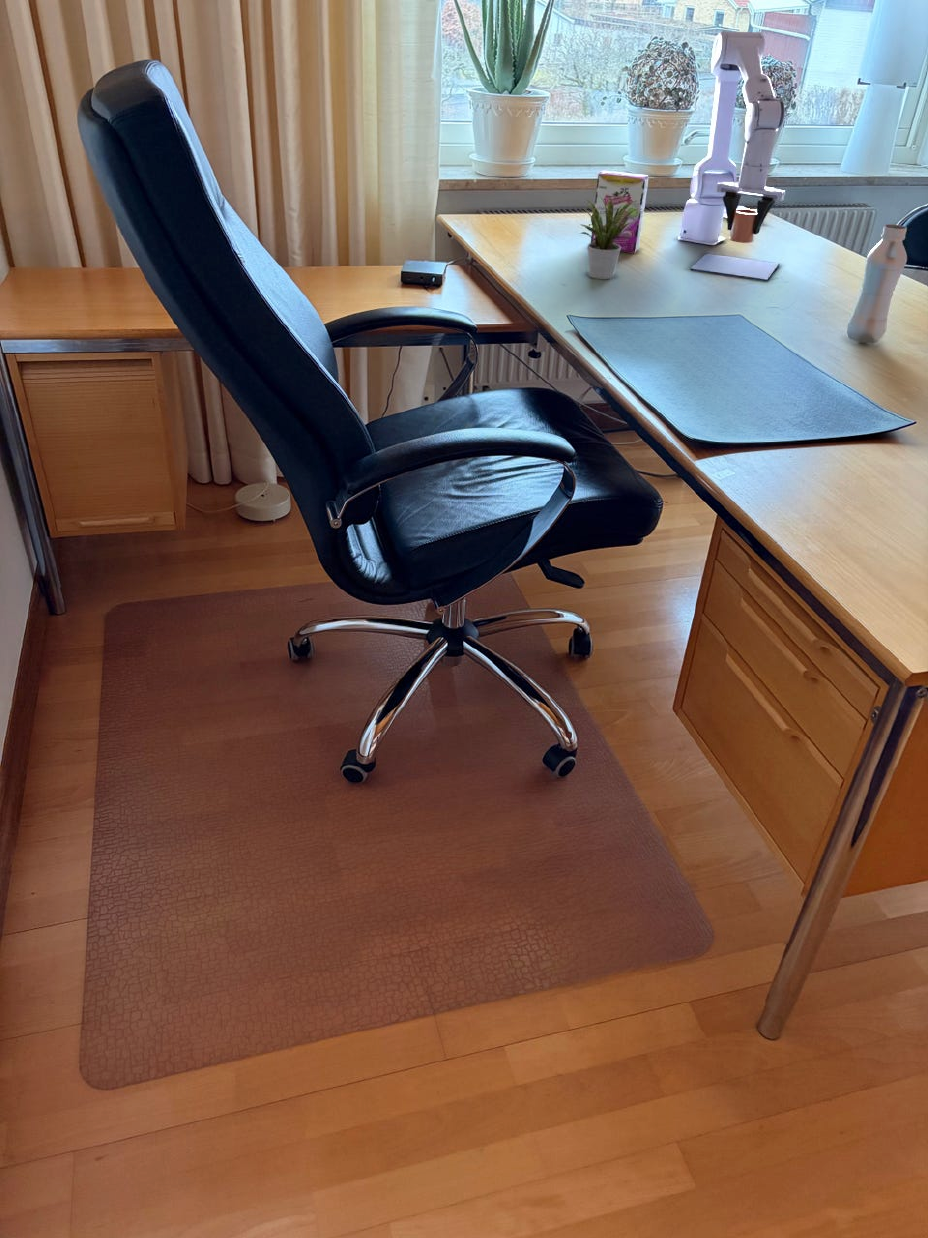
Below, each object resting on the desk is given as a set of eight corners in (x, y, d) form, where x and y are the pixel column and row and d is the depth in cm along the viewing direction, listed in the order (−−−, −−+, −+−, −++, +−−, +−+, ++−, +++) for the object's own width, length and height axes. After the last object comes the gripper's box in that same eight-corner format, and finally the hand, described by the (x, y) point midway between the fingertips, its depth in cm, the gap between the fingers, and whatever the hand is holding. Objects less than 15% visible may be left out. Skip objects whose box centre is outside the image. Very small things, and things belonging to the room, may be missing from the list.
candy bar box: (589, 248, 219) (596, 173, 209) (593, 243, 222) (601, 169, 213) (635, 253, 216) (645, 177, 206) (639, 248, 220) (649, 174, 210)
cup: (725, 240, 204) (731, 211, 201) (734, 235, 208) (739, 207, 204) (748, 243, 202) (754, 214, 199) (756, 239, 206) (762, 210, 202)
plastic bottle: (837, 335, 171) (868, 221, 160) (872, 335, 172) (905, 222, 160) (852, 347, 166) (885, 230, 154) (888, 347, 167) (923, 231, 155)
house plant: (647, 272, 203) (658, 193, 193) (629, 288, 193) (640, 205, 183) (586, 263, 208) (594, 185, 198) (565, 278, 197) (573, 197, 188)
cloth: (690, 269, 206) (690, 268, 206) (706, 254, 217) (706, 253, 217) (766, 280, 200) (766, 279, 200) (778, 264, 211) (779, 263, 211)
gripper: (716, 162, 196) (705, 229, 204) (783, 170, 190) (768, 239, 198) (728, 158, 201) (716, 223, 209) (793, 166, 195) (779, 233, 203)
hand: (742, 231), depth 204 cm, fingers closed on cup, 5 cm apart
